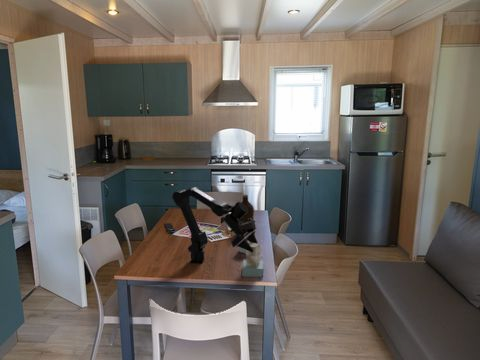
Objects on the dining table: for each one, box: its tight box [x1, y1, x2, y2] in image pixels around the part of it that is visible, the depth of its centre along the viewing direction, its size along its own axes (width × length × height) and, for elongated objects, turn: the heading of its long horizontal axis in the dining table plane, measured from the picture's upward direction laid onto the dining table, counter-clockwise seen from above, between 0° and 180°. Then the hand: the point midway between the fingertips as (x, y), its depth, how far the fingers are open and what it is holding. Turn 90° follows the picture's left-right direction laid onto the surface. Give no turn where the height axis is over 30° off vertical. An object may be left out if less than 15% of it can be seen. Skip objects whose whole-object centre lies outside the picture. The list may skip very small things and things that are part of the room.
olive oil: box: [238, 194, 255, 223], centre depth 221 cm, size 11×11×25 cm
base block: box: [241, 259, 264, 278], centre depth 167 cm, size 10×10×4 cm
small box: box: [237, 236, 250, 255], centre depth 193 cm, size 8×6×10 cm
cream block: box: [245, 242, 261, 267], centre depth 166 cm, size 5×5×10 cm
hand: (255, 249), depth 164 cm, fingers open, 7 cm apart
